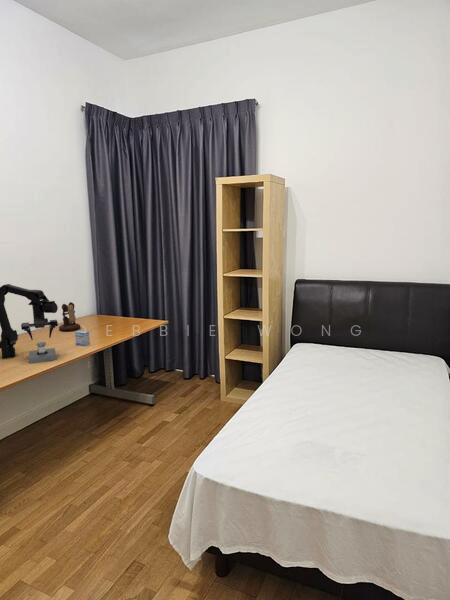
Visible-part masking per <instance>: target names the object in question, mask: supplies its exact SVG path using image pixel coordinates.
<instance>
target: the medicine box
mask: <svg viewBox="0 0 450 600" xmlns="http://www.w3.org/2000/svg"><path fill="white" fill-rule="evenodd" d="M74 337H75V340H74V341H75V346H79V347H81V346H82V347H87V346H89V345H91V341H90V332H89V331H86V330H85V331H84V330H77V331H74Z"/></svg>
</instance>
